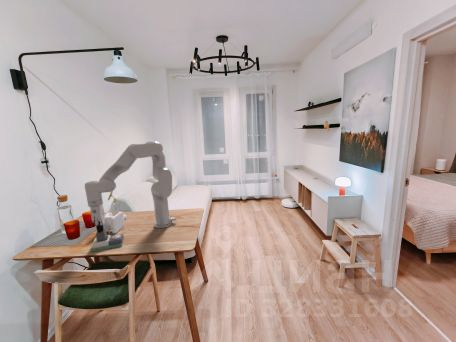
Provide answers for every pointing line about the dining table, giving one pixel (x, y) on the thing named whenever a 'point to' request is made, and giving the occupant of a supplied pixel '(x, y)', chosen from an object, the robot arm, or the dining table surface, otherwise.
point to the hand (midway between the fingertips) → (100, 231)
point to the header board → (108, 243)
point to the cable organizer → (113, 222)
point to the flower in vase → (115, 205)
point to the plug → (101, 236)
